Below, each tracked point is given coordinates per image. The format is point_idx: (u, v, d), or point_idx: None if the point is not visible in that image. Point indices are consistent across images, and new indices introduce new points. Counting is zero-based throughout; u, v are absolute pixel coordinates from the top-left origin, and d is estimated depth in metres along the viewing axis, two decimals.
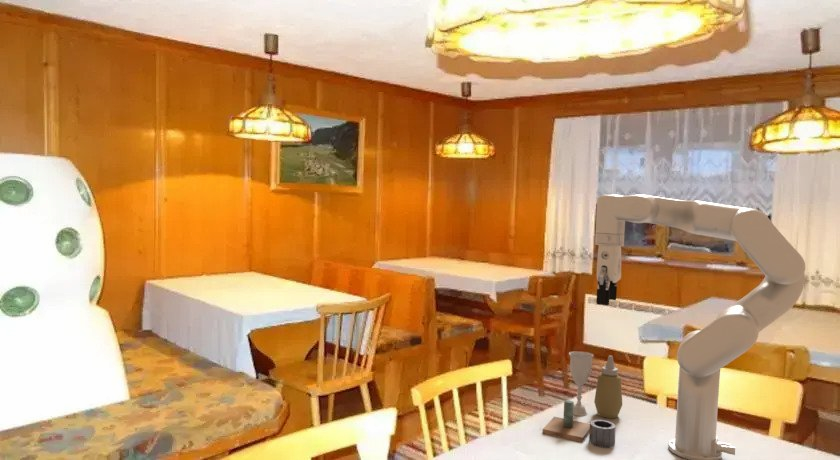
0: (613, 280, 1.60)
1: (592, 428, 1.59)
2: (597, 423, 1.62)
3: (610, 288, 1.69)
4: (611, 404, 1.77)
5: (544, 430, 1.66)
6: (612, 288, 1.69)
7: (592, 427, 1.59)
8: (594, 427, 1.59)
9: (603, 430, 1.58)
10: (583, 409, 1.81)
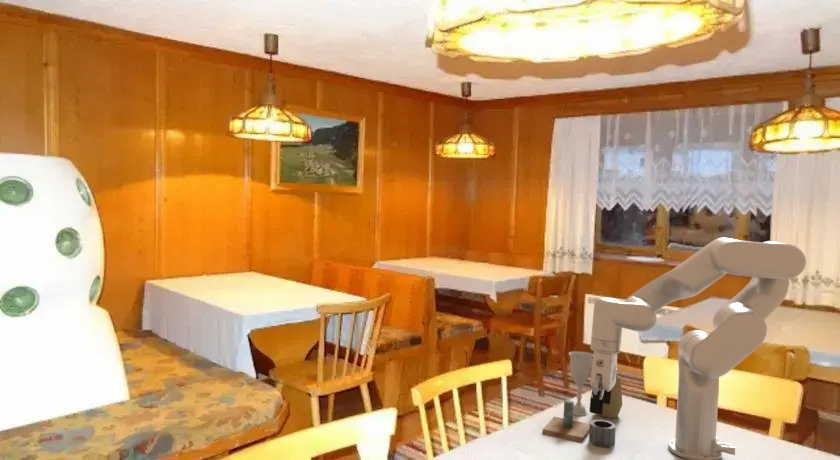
0: (607, 389, 1.55)
1: (592, 428, 1.59)
2: (597, 423, 1.62)
3: (604, 391, 1.64)
4: (611, 404, 1.77)
5: (544, 430, 1.66)
6: (606, 392, 1.64)
7: (592, 427, 1.59)
8: (594, 427, 1.59)
9: (603, 430, 1.58)
10: (583, 409, 1.81)
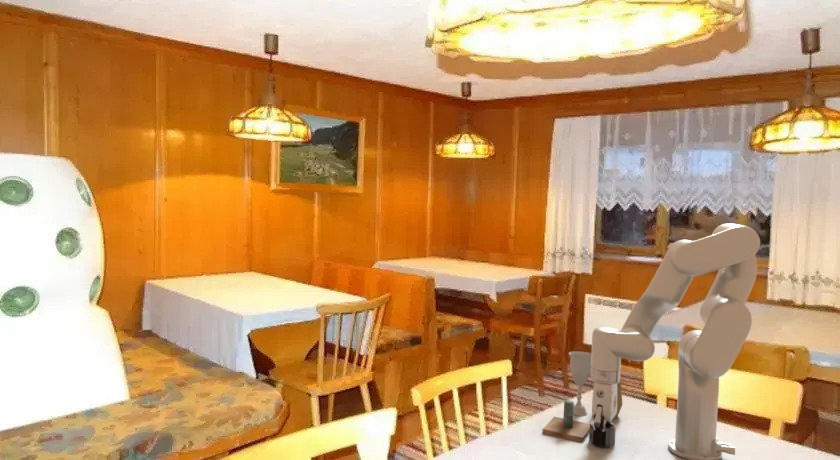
0: (609, 420, 1.55)
1: (592, 428, 1.59)
2: None
3: None
4: None
5: (544, 430, 1.66)
6: None
7: (592, 427, 1.59)
8: None
9: None
10: (583, 409, 1.81)
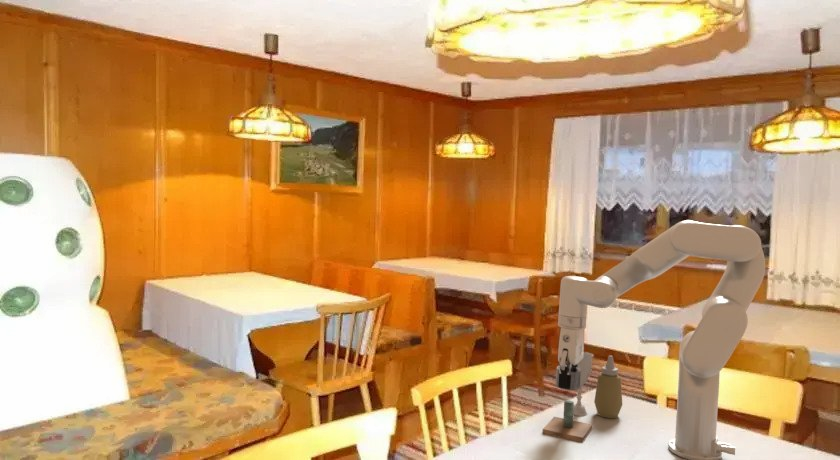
0: (574, 363, 1.62)
1: (558, 372, 1.66)
2: None
3: None
4: (611, 404, 1.77)
5: (544, 430, 1.66)
6: None
7: (558, 371, 1.66)
8: None
9: None
10: (583, 409, 1.81)
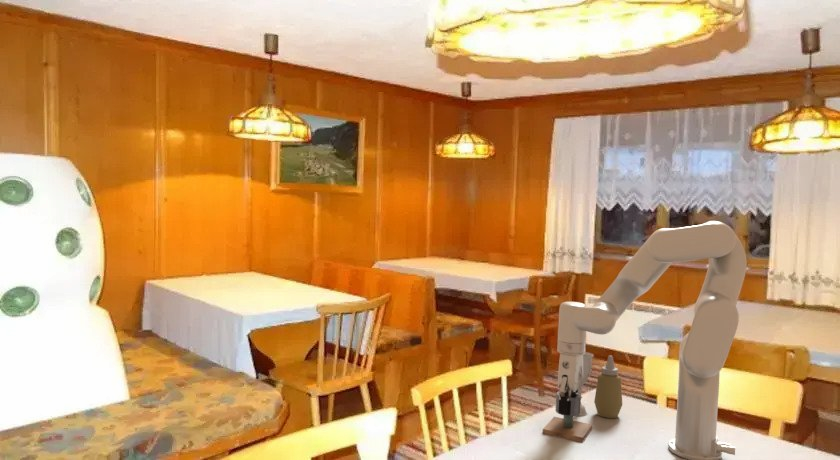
0: (573, 390, 1.62)
1: (558, 398, 1.67)
2: None
3: None
4: (611, 404, 1.77)
5: (544, 430, 1.66)
6: None
7: (558, 397, 1.67)
8: None
9: None
10: (583, 409, 1.81)
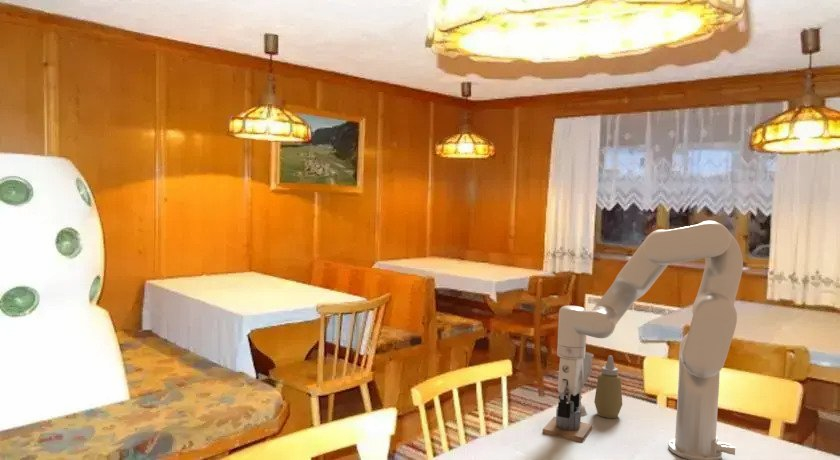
0: (574, 394, 1.62)
1: None
2: None
3: (573, 395, 1.72)
4: (611, 404, 1.77)
5: (544, 430, 1.66)
6: (575, 396, 1.71)
7: None
8: None
9: None
10: (583, 409, 1.81)
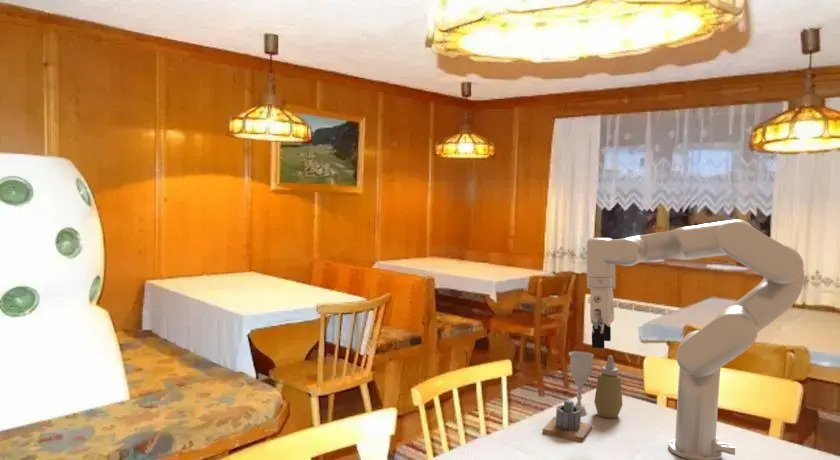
0: (607, 323, 1.62)
1: (558, 413, 1.67)
2: (563, 408, 1.70)
3: (604, 329, 1.71)
4: (611, 404, 1.77)
5: (544, 430, 1.66)
6: (606, 329, 1.71)
7: (558, 412, 1.67)
8: (560, 412, 1.66)
9: (568, 414, 1.65)
10: (583, 409, 1.81)
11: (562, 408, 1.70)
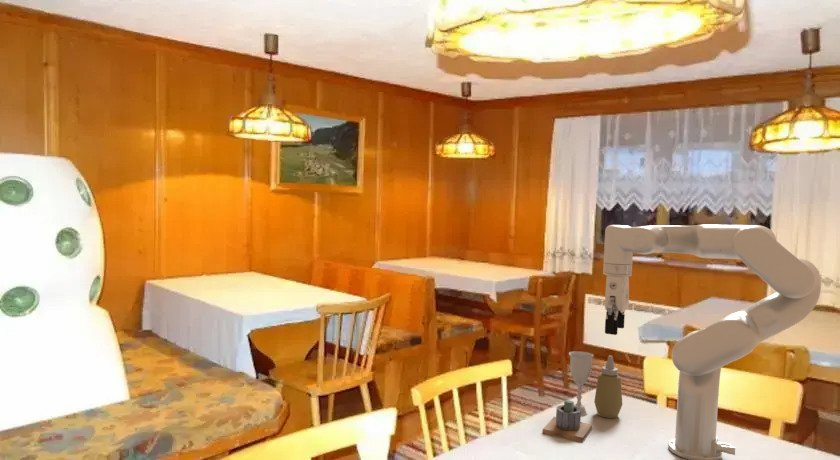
0: (621, 310, 1.62)
1: (558, 413, 1.67)
2: (563, 408, 1.70)
3: (618, 316, 1.72)
4: (611, 404, 1.77)
5: (544, 430, 1.66)
6: (620, 316, 1.71)
7: (558, 412, 1.67)
8: (560, 412, 1.66)
9: (568, 414, 1.65)
10: (583, 409, 1.81)
11: (562, 408, 1.70)
